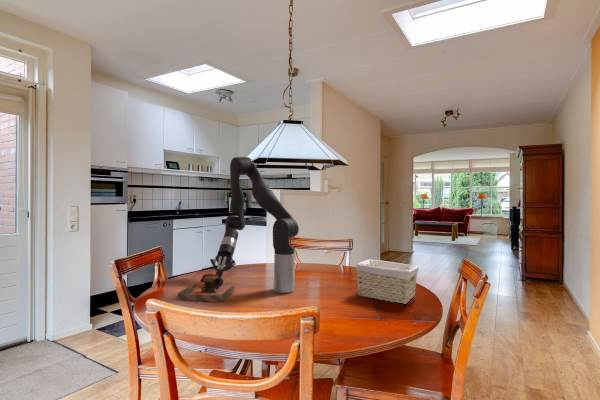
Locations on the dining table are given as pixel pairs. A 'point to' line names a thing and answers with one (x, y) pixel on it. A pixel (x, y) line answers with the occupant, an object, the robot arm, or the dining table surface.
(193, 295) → the wooden corral
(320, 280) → the dining table surface
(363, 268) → the storage basket
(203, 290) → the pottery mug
